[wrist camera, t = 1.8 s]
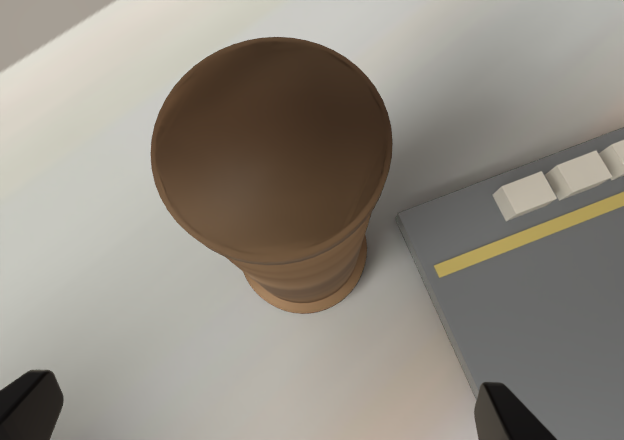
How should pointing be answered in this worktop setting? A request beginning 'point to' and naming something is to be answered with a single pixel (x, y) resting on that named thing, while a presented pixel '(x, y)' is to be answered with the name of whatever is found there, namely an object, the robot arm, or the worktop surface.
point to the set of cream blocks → (560, 181)
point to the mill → (276, 165)
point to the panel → (533, 294)
